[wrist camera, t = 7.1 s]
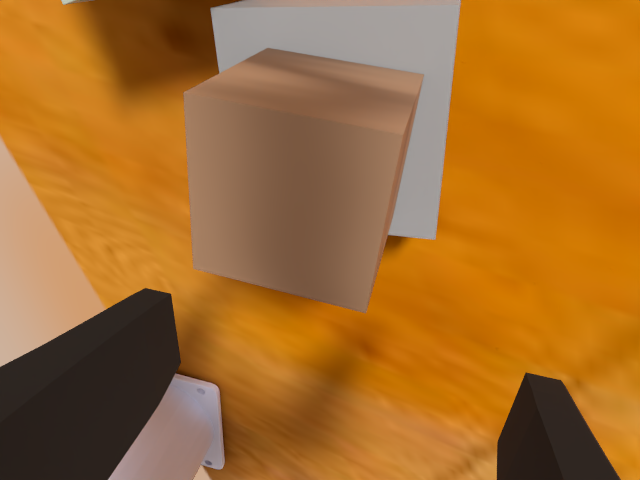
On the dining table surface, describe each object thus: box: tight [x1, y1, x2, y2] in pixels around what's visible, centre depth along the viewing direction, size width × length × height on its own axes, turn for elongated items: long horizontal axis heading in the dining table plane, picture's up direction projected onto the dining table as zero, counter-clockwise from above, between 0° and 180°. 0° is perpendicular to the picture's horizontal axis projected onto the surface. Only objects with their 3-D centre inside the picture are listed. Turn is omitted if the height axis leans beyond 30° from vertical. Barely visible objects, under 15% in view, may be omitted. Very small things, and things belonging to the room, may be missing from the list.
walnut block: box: [183, 48, 424, 313], centre depth 13 cm, size 5×5×5 cm
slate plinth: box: [210, 0, 461, 240], centre depth 16 cm, size 7×7×4 cm
